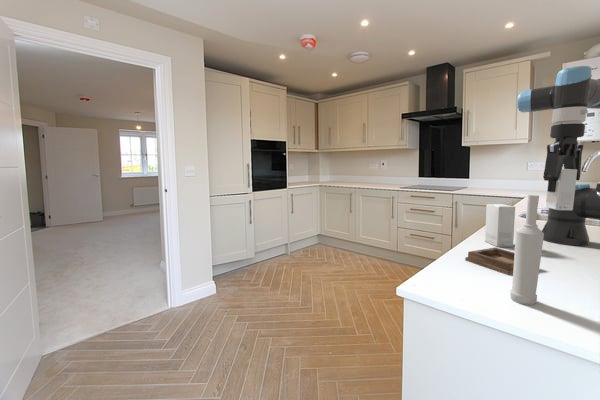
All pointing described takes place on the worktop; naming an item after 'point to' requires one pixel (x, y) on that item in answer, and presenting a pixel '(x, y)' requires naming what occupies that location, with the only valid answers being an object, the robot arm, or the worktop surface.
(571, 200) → the skincare box
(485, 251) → the brown square tray
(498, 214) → the skincare box
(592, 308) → the worktop surface
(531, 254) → the bottle
